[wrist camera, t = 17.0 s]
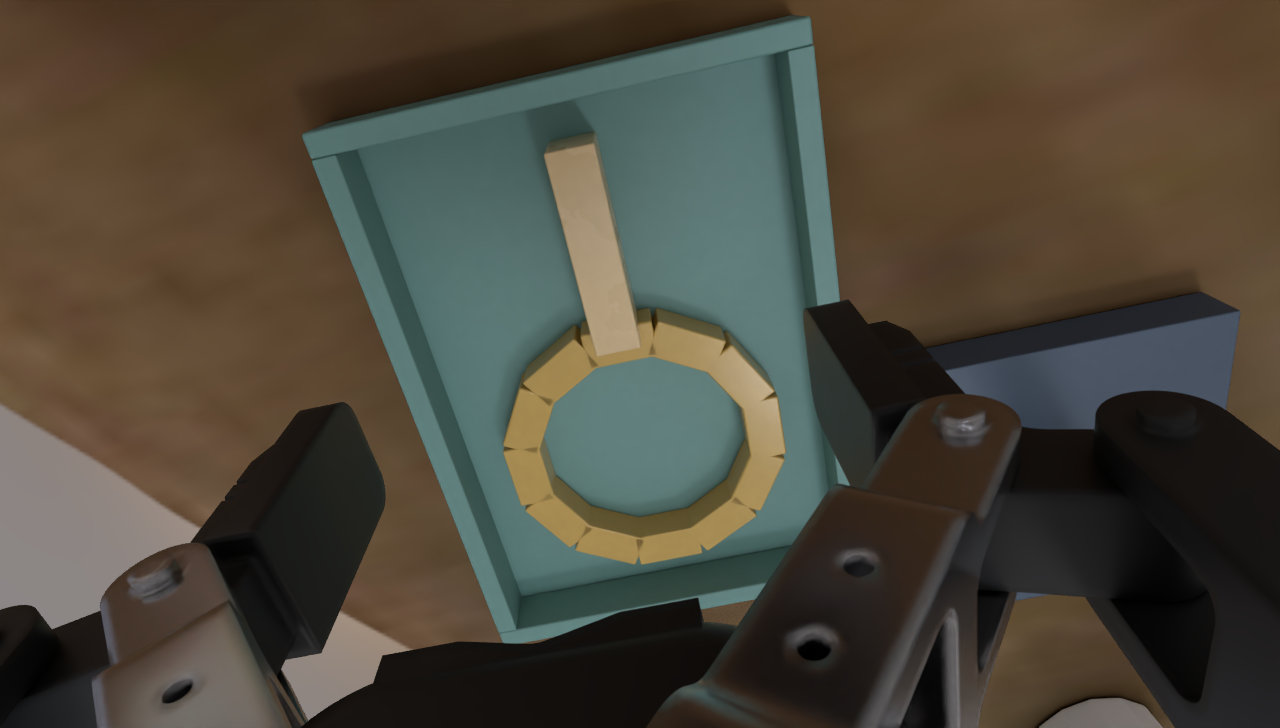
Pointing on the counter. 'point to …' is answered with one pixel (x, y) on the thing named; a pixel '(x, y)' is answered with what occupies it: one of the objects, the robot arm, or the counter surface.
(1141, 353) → the key stand
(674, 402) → the key tray
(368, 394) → the counter surface
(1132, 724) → the white cup
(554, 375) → the ring
